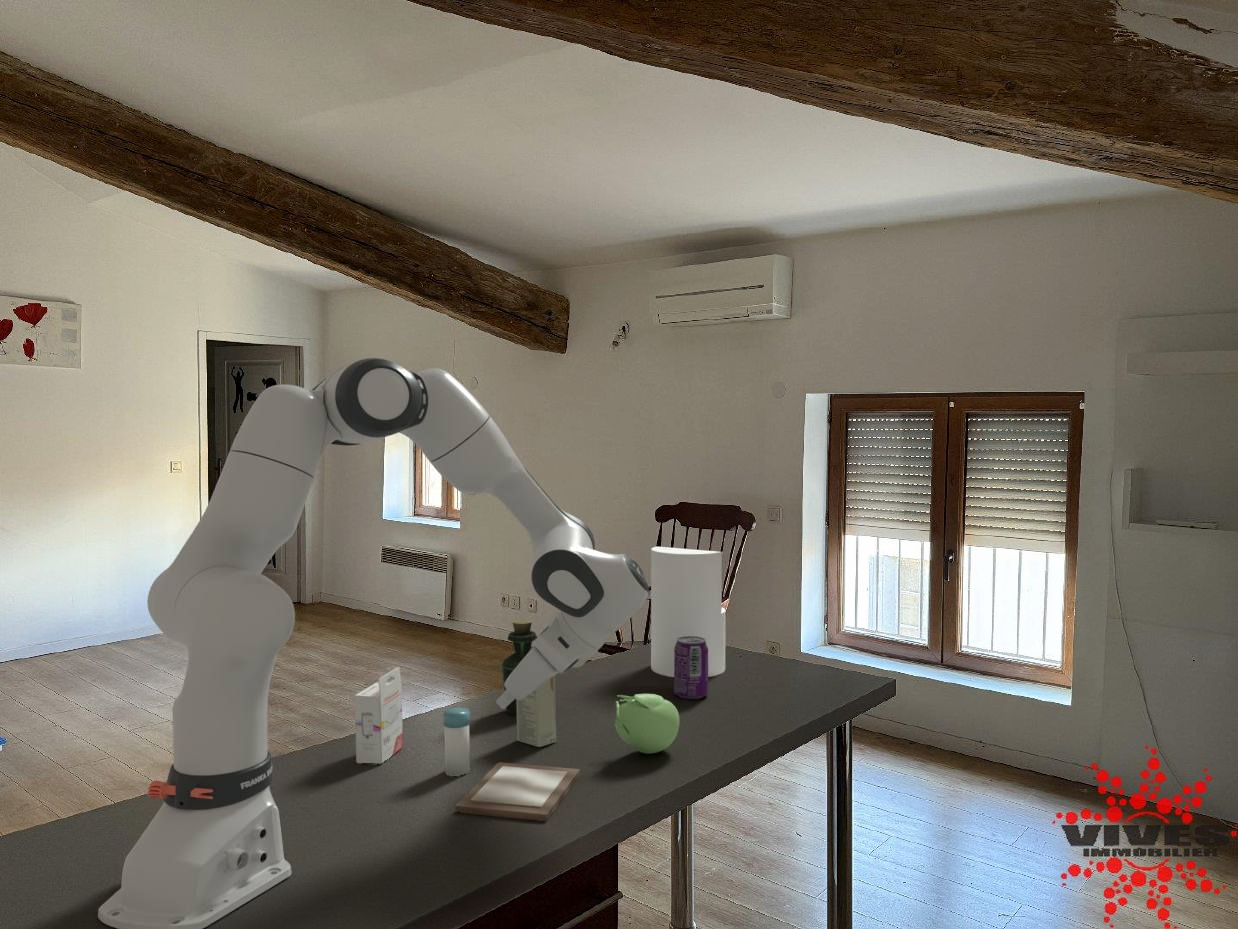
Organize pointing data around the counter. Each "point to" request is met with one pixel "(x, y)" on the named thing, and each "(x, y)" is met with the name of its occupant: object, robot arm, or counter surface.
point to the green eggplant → (647, 722)
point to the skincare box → (537, 716)
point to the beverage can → (691, 667)
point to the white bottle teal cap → (457, 741)
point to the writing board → (519, 791)
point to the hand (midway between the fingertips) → (510, 696)
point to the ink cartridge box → (379, 719)
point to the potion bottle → (517, 653)
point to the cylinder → (686, 605)
